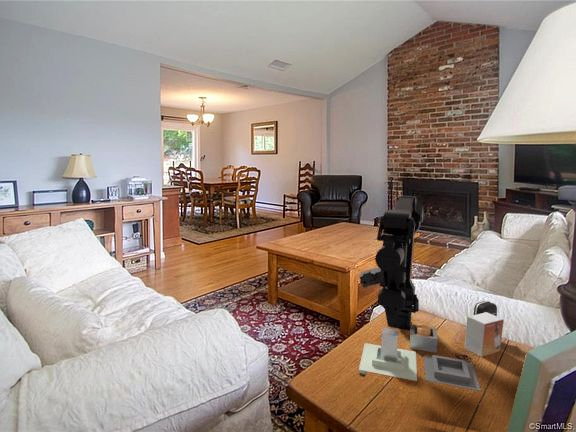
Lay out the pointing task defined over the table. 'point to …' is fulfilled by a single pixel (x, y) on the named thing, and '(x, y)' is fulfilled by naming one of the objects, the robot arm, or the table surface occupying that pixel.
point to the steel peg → (389, 344)
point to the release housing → (423, 340)
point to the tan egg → (423, 330)
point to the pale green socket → (388, 363)
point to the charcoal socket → (450, 372)
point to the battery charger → (485, 308)
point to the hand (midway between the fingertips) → (390, 318)
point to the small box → (483, 334)
